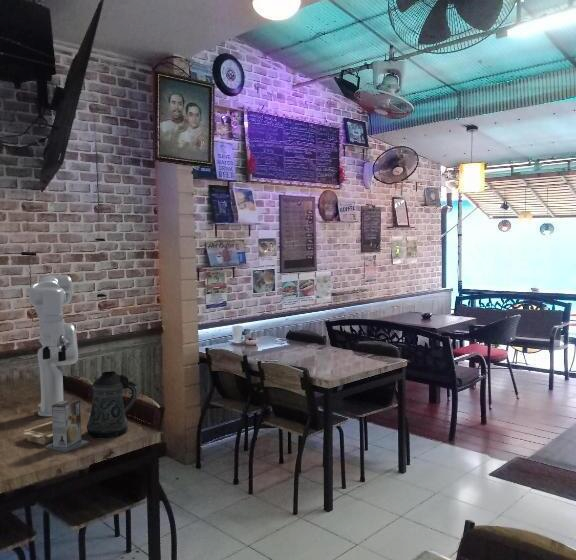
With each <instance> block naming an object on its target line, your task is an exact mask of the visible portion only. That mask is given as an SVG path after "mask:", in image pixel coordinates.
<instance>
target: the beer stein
mask: <svg viewBox="0 0 576 560" xmlns="http://www.w3.org/2000/svg"><path fill="white" fill-rule="evenodd" d="M91 387H92V390H93V393H92V394H93V395H92V399H91V401H92V402H91V408H90V409H91V410H90V414H89V418H88V422H87V424H86V431H87V435H89V436H88V437H89V438H91V437H92V439H96V438H107V439H111V438H112V437H114V438H116V437H117V436H118V437H120V435H121V436H123V435H125V434H127V432H128V427H129V420H128V419H127V417H126V413H127V412H128V411H129V410H130V409H131V407H132V406H133V405H134V403H135V402H136V400H137V398H138V388H137V384H136V383H135V382H133V381H132V380H129V378H128V377H127V376H126V375H125V374H118V373H117V372H116V371H104V372H102V373H101V376H98V378H97V379H95V380H94V381H93V383H91ZM122 389H129V390H130V391H131V394H130V395H131V396H130V398H129V399H128V401H127V402H126V403H125V404H124V399H123V393H122V392H123V391H122ZM112 439H113V438H112Z"/></svg>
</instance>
